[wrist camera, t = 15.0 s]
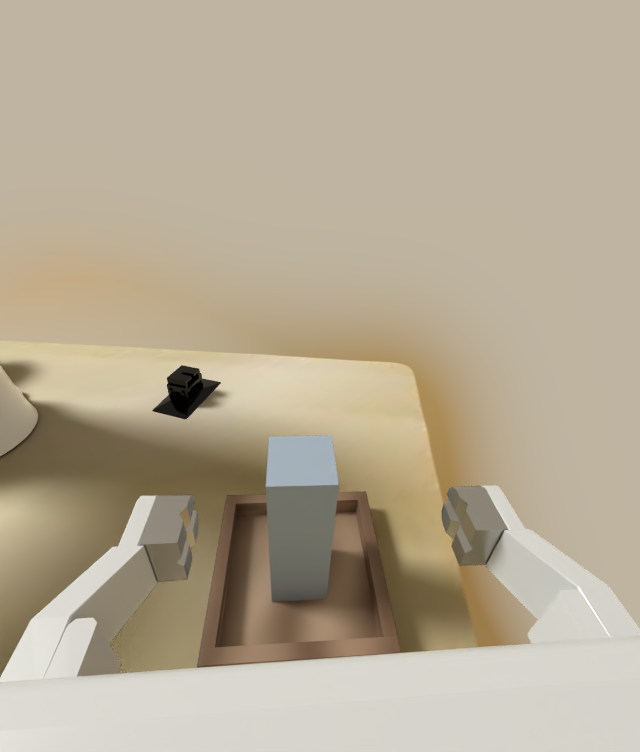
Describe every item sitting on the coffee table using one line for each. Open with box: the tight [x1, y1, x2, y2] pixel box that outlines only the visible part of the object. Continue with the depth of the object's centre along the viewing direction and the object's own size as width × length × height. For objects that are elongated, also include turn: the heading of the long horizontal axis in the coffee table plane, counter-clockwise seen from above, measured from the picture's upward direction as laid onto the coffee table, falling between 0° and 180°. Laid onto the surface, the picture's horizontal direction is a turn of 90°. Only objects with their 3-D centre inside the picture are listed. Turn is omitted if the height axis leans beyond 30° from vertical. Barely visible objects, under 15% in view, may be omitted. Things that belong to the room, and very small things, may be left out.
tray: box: [197, 492, 401, 668], centre depth 32 cm, size 14×14×2 cm
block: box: [266, 436, 339, 602], centre depth 28 cm, size 4×4×14 cm
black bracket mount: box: [152, 366, 221, 419], centre depth 53 cm, size 12×7×5 cm, turn 164°
